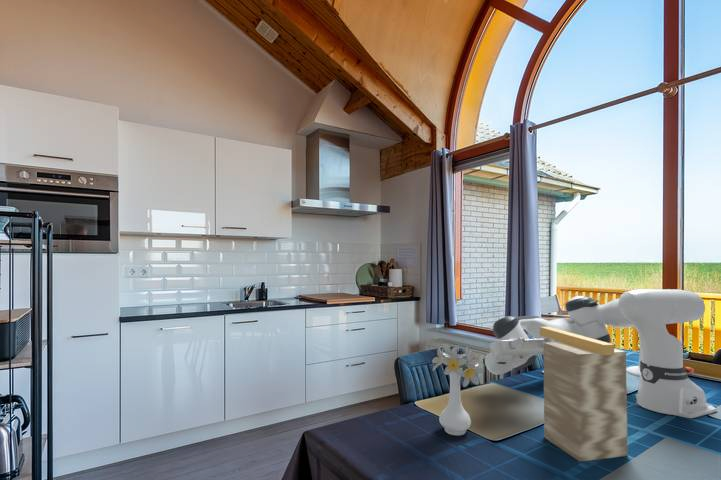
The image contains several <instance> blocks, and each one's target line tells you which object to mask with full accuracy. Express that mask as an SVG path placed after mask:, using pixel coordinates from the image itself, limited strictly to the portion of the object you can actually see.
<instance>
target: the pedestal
mask: <svg viewBox="0 0 721 480" xmlns="http://www.w3.org/2000/svg"><path fill="white" fill-rule="evenodd" d="M626 369H627V351H625V350H622V349H618V348H615V347H614V355H601V354H598V353H595V352H592V351H589V350H585V349H582V348H579V347H576V346H573V345H569V344H566V343H563V342H546V343H544V354H543V418H544V419H543V423H544V424H543V425H544V427H543V431H544V434H543V435H544V437H545V438H544V439H546V440H548V441H549V442H550V443H552V444H553V445H554V446H556V447H557V448H559V449H561V450H562V451H563V452H565V453H566V454H568V455H570V456H571V457H572V458H573V459H575V460H577V461H578V462H579V463H580V462H588V461H589V462H590V461H596V460H604V459H605V460H606V459H613V458H620V457H621V458H622V457H628V454H629V453H628V399H627V397H628V395H627V392H628V391H627V388H628V387H627V372H626Z"/></svg>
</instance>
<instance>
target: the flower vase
mask: <svg viewBox="0 0 721 480" xmlns="http://www.w3.org/2000/svg"><path fill="white" fill-rule="evenodd" d="M460 349H461V348H460V346H459V345H455V346H453V347H452V348H451V347H450V345H448V344H447V343H443V344H442V349H441V347H438V348H437V350H436V352H437V353H436V354H437V356H435V357H433V359H432V361H431V362H432V364H435V365H434V366H433V368H432V371H433V372H434V371H435V370H436V369H437V368H438V367H439V366H441V365H442V364H443V365H445V366H446V367H445V369H444V375H446V376H449V398H448V402H447V405H446V407H445V408H443V410H441V413H440V414H439V419H438V420H439V423H440V424H441V426H442V427H443V428H444V432H445V433H447V434H448V435H451V436H463V435H465V434H466V431H467V430H468V429H469V428H470V427H471V424H472V420H471V416H470V414H469V413H468V412H467V411H466V410H465V408H464V405H463V403H462V399H461V397H462V396H461V377H462V378H463V382H462V387H463V388H466V387H467V386H469V384H470V381H471V382H472V383H473V385H476V386H477V385H480V379H479V377H478V376H477V375H479V376H481V374H482V373H484V370H485V368H484V367H479V365H480V363H479V361H478V360H477V356H476V355H475V354H473V351H472V350H471V349H470V350H469V347H468V346H466V347H465V351H464V353H462V354H459V353H458V352H459V351H460Z"/></svg>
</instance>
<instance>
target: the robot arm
mask: <svg viewBox="0 0 721 480" xmlns="http://www.w3.org/2000/svg"><path fill="white" fill-rule="evenodd" d="M598 302H600V301H599V300H598V299H596V300H595V299H594V298H593V297H590V296H587V295H576V296H573V297H571V298H570V299H568V300H567V301H566V302H565V310H566V312H567V314H568V316H569V319H566V318H555V319H550V320H547V319H544V318H542V317H540V316H538V315H524V316H523V315H522V316H513V315H508V316H503V317H501V318H499V319H497V320H496V321H495V322H494V323H493V327H492V333H493V334H494V336H495V337H496V338H497V341H495V342H492V343H489V344H488V346H489V347H488V348H489V351H490V352H488V354H487V355H486V356H485V358H484V364H485V367H486V368H487V370H488V371H489V372H490V373H491V374H493V375H496V376H497V375H503V374H506V373H508V372H511V371H521V370H523V369H524V368H526V367H529V366H531V365H533V364H534V363H535V362H537V358H538V356H541V355H544V343H546V342H560V341H557V340H553V339H550V338H547V337H544V336H541V335H540V327H552V328H555V329H559V330H563V331H566V332H570V333H574V334H577V335H581V336H585V337H589V338H592V339H596V340H600V341H603V342H607V343H611V342H612V339H611V335H610V333H609V332H608V329H607V327H606V326H609V327H611V328H612V327H613V328H621V329H623V328H625V329H626V328H635V330H636V331H637V334H638V337H639V344H640V343H641V361H640V372H641V375H640V376H639V378H638V380H639V381H638V389H637V393H636V394H635V398H636V404H637V405H638V406H640V407H642V408H644V409H646V410H649V411H653V412H656V413H659V414H665V415H669V416H671V415H673V416H678V417H682V418H687V419H694V418H699V417H703V416H705V415H709V414H713V413H716V412H717V408H716V407H715V406H713V405H711V404H709V403H707V397H706V393H705V391H704V389H702V387H700V386H698V385H697V384H696V383H695V382H693V381H692V380H691V379H690V378H689V376H688V374H689V375H694V373H695V369H694V368H693V367H689V366H684V361H683V360H684V356H683V354H684V352H683V348H684V347H683V344H682V342H681V340H680V339H679V338H677V337H676V336H674V335H673V334H670V332H669V331H668V329H667V326H666V325H670V324H681V323H682V324H684V323H690V322H695V321H698V320H700V319H701V318H702V317H703V316H704V314H705V312H706V305H705V302H704V300H703V298H702V297H701V296H700V294H698V293H696V292H694V291H689V290H683V289H677V288H675V289H674V288H673V289H671V288H667V289H662V288H659V289H658V288H654V289H653V288H652V289H651V288H650V289H649V288H648V289H647V288H646V289H645V288H638V289H632V290H629V291H624V292H623V293H622V294H621V295H620V297H619V298H615V299H613V300H610V301H609V302H606V303H604V304H599V303H598ZM526 332H527V333H528V334H529V335H530V336H531V337H532V338H529V336H528V335H527V333H526Z"/></svg>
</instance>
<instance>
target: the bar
mask: <svg viewBox="0 0 721 480" xmlns="http://www.w3.org/2000/svg"><path fill="white" fill-rule="evenodd" d="M540 335H541V336H544V337H547V338H550V339H553V340H557V341H560V342H563V343H566V344H569V345H573V346H576V347H579V348H582V349H585V350H589V351H592V352H595V353H598V354H601V355H614V348H615V343H611V342H610V343H607V342H603V341H600V340H596V339H592V338H589V337H585V336H581V335H577V334H574V333H570V332H566V331H563V330H559V329H555V328H552V327H540Z"/></svg>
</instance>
